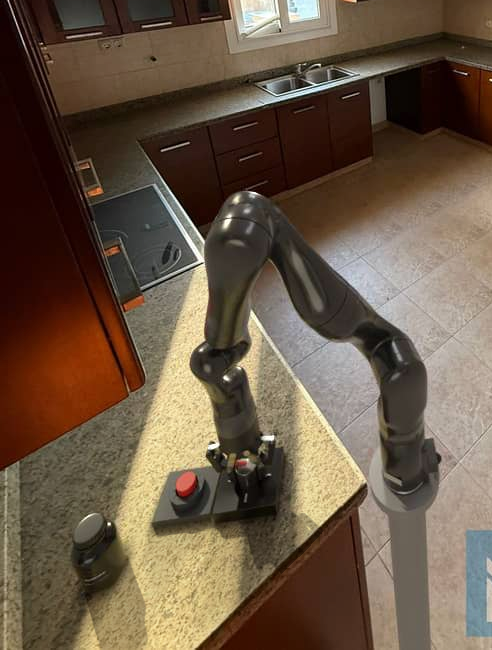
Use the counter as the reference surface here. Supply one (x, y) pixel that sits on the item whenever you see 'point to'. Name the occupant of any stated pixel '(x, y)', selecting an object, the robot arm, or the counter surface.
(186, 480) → the power button
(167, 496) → the button housing
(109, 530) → the supplement bottle
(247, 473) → the stove knob
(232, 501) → the stove panel
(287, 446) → the counter surface
